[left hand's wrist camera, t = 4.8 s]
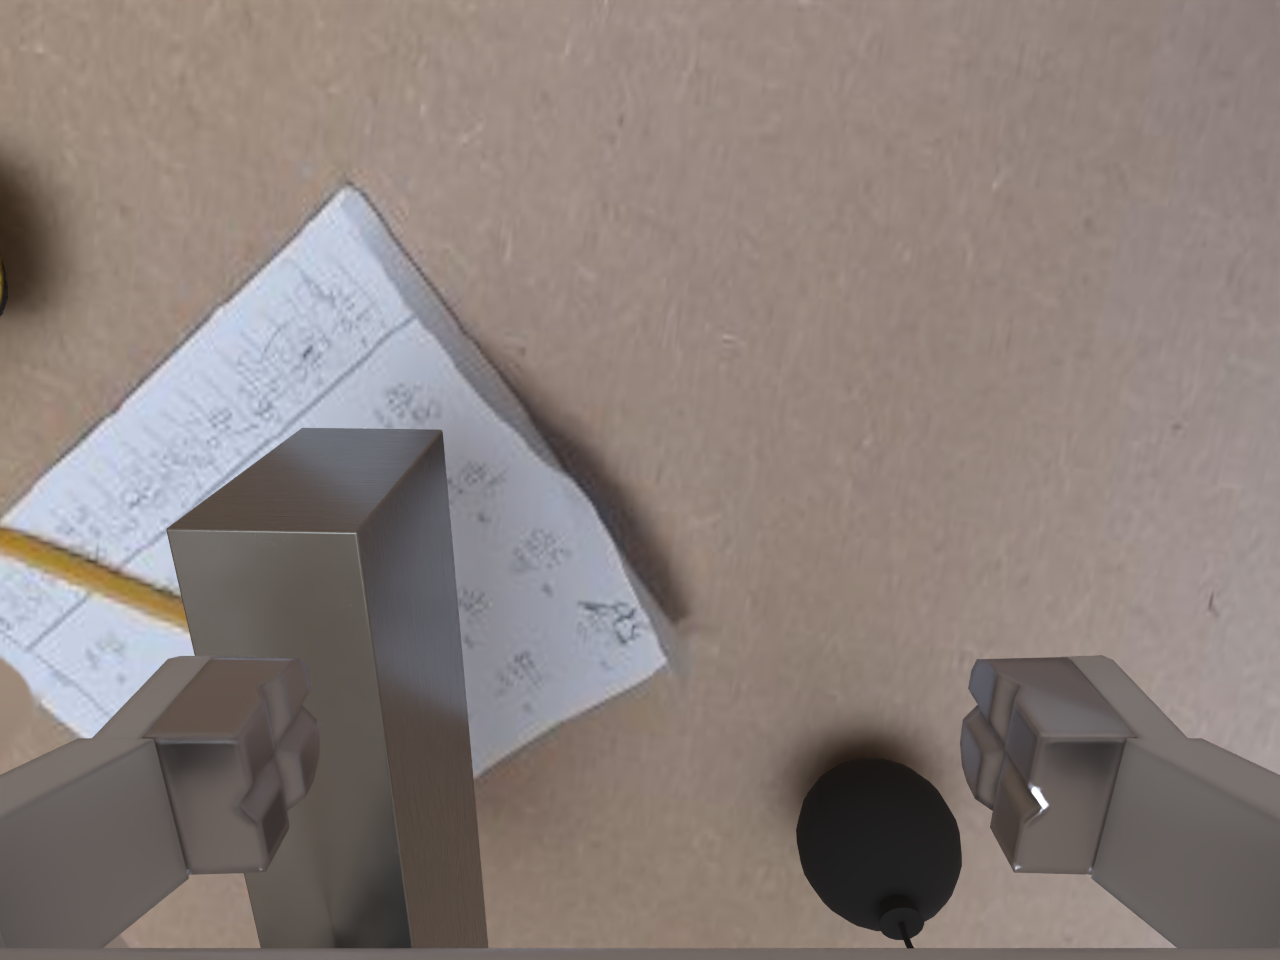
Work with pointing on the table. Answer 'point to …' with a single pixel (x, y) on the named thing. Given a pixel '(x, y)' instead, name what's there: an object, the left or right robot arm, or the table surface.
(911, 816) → the bomb
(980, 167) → the table surface
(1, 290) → the shrine
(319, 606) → the bar
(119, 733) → the left robot arm
